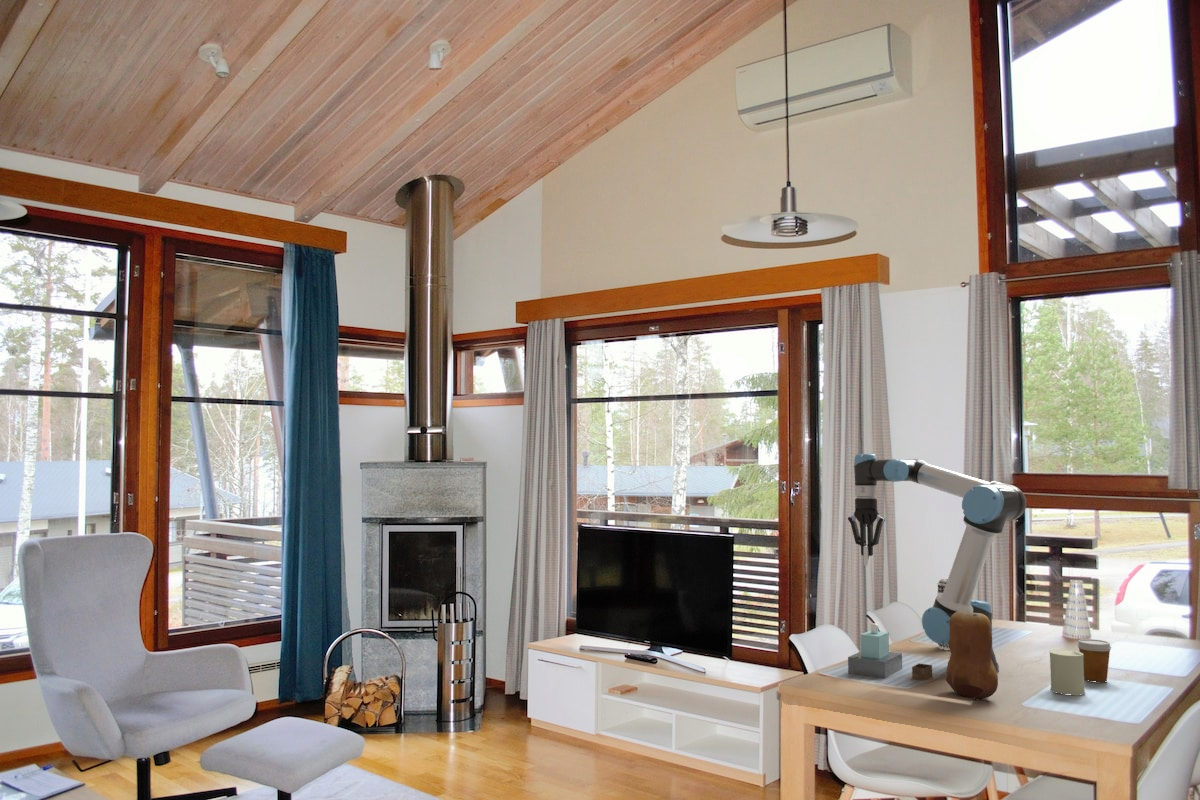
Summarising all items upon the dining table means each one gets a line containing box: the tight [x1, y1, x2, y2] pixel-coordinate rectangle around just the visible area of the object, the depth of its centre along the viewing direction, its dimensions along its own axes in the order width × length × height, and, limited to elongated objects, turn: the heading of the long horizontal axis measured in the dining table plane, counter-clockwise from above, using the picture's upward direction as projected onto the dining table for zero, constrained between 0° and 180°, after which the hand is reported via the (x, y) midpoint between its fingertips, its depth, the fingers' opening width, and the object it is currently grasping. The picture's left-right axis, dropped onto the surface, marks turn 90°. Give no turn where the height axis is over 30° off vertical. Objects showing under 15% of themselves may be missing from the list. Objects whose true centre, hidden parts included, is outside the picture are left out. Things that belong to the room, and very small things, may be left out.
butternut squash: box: [945, 611, 999, 701], centre depth 267 cm, size 14×13×25 cm
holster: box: [905, 663, 939, 683], centre depth 288 cm, size 8×8×4 cm
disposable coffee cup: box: [1077, 638, 1112, 683], centre depth 289 cm, size 10×10×12 cm
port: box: [847, 651, 903, 679], centre depth 297 cm, size 12×16×6 cm
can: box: [1049, 649, 1086, 696], centre depth 275 cm, size 9×9×12 cm
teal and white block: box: [860, 622, 890, 659], centre depth 298 cm, size 6×9×14 cm, turn 143°
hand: (867, 565), depth 322 cm, fingers closed
